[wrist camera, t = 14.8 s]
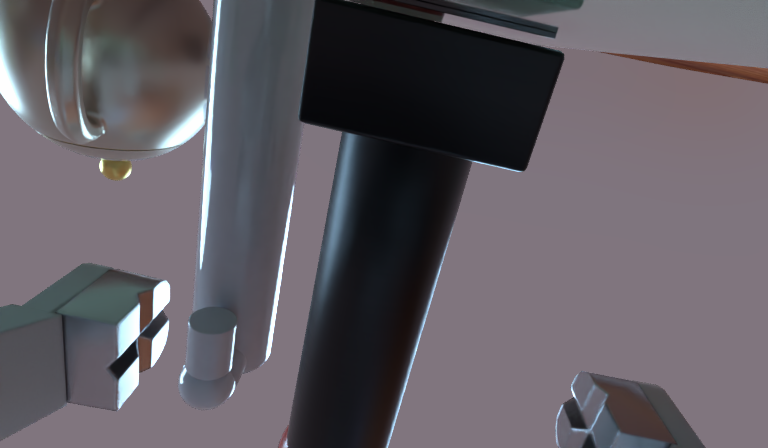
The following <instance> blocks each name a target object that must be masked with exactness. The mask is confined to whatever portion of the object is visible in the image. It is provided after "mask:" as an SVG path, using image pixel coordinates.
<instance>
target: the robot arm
mask: <svg viewBox="0 0 768 448" xmlns="http://www.w3.org/2000/svg"><path fill="white" fill-rule="evenodd" d="M169 301H170V285H169V284H168V282H167V281H166V280H161V279H157V278H153V277H149V276H145V275H141V274H136V273H132V272H128V271H124V270H120V269H114V268H111V267H107V266H102V265H97V264H92V263H86V264H81V265H80V266H78V267H77V268H76V269H74V270H73V271H71V272H70V273H69V274H67V275H66V276H64V277H63V278H61V279H60V280H58V281H57V282H55V283H54V284H53V285H51V286H50V287H48V288H47V289H45V290H44V291H42V292H41V293H40V294H38V295H37V296H35V297H34V298H32V299H31V300H30V301H28V302H27V303H25V304H24V305H22V306H19V305H14V304H11V305H8V306H3V307H0V441H1V440H3V439H5V438H6V437H9V436H11V435H12V434H14V433H16V432H18V431H20V430H22V429H23V428H25V427H27V426H29V425H31V424H33V423H35V422H37V421H38V420H40V419H42V418H44V417H46V416H47V415H50V414H51V413H53V412H55V411H57V410H58V409H61V408H63V407H64V406H66V405H67V403H73V404H78V405H84V406H90V407H95V408H101V409H107V410H112V411H118V409H119V408H120V407H121V406H122V404H123V403H124V402H125V401H126V399H127V398H128V397H129V396H130V394H131V393H132V392H133V390H134V389H135V388H136V386H137V385H138V373H140V372H143V371H145V370H147V369H149V368H151V367H152V366H153V365H154V363H155V362H156V361H157V359H158V358H159V356H160V354H161V352H162V349H163V347H164V345H165V343H166V338H167V334H168V326H169V319H168V318H167V316H166V315H165V313H164V312H163V310H162V309H163V308H164V307H165V305H166V304H167V303H168V302H169ZM571 389H572V392H573V395H574V397H573V398H572V399H570V400H569V401H567V402H565V403H563V404H562V406H561V409H560V411H559V414H558V416H557V422H556V430H555V432H556V441H557V444H558V448H705V446H704V445H703V444H702V442H701V440H700V439H699V438H698V436H697V435H696V433H695V432H694V431H693V429H692V428H691V426H690V425H689V424H688V422H687V421H686V419H685V418H684V417H683V415H682V414H681V412H680V411H679V410H678V408H677V407H676V405H675V404H674V403H673V401H672V400H671V398H670V397H669V395H668V394H667V393H666V391H665V390H664V389H662V388H661V387H659V386H658V385H654V384H649V383H643V382H638V381H629V380H624V379H619V378H614V377H609V376H604V375H599V374H594V373H589V372H584V371H581V372H580V373H579V374H578V375H577V376H576V377H575V379H574V381H573V383H572V385H571Z"/></svg>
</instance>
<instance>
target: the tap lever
mask: <svg viewBox="0 0 768 448" xmlns="http://www.w3.org/2000/svg"><path fill="white" fill-rule="evenodd" d="M563 61H564V54H563V53H562V52H561V51H558V50H554V49H550V48H545V47H541V46H537V45H533V44H528V43H524V42H520V41H516V40H511V39H507V38H503V37H499V36H494V35H490V34H486V33H482V32H477V31H473V30H469V29H465V28H460V27H456V26H452V25H447V24H443V23H439V22H435V21H431V20H426V19H422V18H418V17H413V16H409V15H405V14H401V13H396V12H392V11H388V10H384V9H379V8H375V7H371V6H367V5H362V4H358V3H354V2H350V1H345V0H314V7H313V14H312V21H311V28H310V35H309V42H308V49H307V56H306V63H305V70H304V77H303V84H302V91H301V98H300V105H299V112H298V118H299V121H301V122H302V123H306V124H310V125H315V126H319V127H324V128H328V129H333V130H337V131H341V132H342V136H341V142H340V147H339V152H338V158H337V163H336V169H335V175H334V180H333V186H332V191H331V197H330V203H329V208H328V213H327V218H326V224H325V229H324V235H323V241H322V246H321V252H320V257H319V262H318V268H317V274H316V279H315V285H314V290H313V296H312V301H311V306H310V312H309V318H308V323H307V329H306V334H305V340H304V345H303V351H302V356H301V362H300V367H299V373H298V378H297V384H296V389H295V395H294V400H293V406H292V411H291V417H290V422H289V425H288V426H287V428H286V429H285V431H284V433H283V435H282V438H281V440H280V442H279V446H278V448H388V445H389V441H390V438H391V435H392V431H393V428H394V425H395V421H396V418H397V414H398V411H399V408H400V404H401V401H402V398H403V394H404V391H405V387H406V384H407V381H408V377H409V374H410V371H411V367H412V363H413V360H414V357H415V354H416V350H417V347H418V343H419V340H420V336H421V333H422V329H423V326H424V323H425V320H426V316H427V313H428V310H429V306H430V303H431V299H432V296H433V293H434V289H435V286H436V283H437V279H438V276H439V273H440V269H441V266H442V262H443V259H444V255H445V252H446V249H447V246H448V242H449V239H450V235H451V232H452V229H453V225H454V222H455V218H456V215H457V212H458V208H459V205H460V202H461V198H462V195H463V191H464V188H465V185H466V181H467V178H468V175H469V171H470V168H471V164H472V161H474V162H479V163H483V164H487V165H492V166H496V167H501V168H505V169H509V170H514V171H518V172H522V171H525V170H526V168H527V166H528V163H529V160H530V157H531V154H532V151H533V148H534V146H535V143H536V140H537V137H538V134H539V131H540V128H541V125H542V122H543V119H544V116H545V113H546V111H547V108H548V105H549V102H550V99H551V96H552V93H553V90H554V87H555V84H556V82H557V78H558V75H559V73H560V70H561V67H562V64H563Z"/></svg>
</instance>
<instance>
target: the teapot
mask: <svg viewBox="0 0 768 448" xmlns="http://www.w3.org/2000/svg"><path fill="white" fill-rule="evenodd" d="M211 33H212V21H211V19H210V17H209V15H208V13H207V12H206V10H205V8H204V7H203V5H202V3H201V2H200V1H199V0H0V92H1V94H2V96H3V97H4V99H5V100H6V101H7V103H8V104H9V105H10V107H11V108H12V109H13V110H14V111H15V112H16V114H17V115H18V116H19V117H20V118H21V119H23V120H24V121H25V122H26V123H27V124H28V125H29V126H30V127H32V128H33V129H34V130H35V131H37V132H38V133H40V134H41V135H42V136H44V137H45V138H47V139H48V140H50V141H52V142H54V143H55V144H57V145H59V146H61V147H64V148H66V149H68V150H70V151H73V152H75V153H78V154H81V155H85V156H89V157H93V158H97V159H101V161H100V170H101V172H102V174H103V175H104V176H105V177H107V178H108V179H111V180H115V181H116V180H117V181H118V180H123V179H125V178H126V177H128V176H129V174H130V173H131V170H132V164H131V162H130V161H135V160H143V159H148V158H152V157H156V156H159V155H162V154H165V153H167V152H170V151H172V150H174V149H175V148H177V147H179V146H180V145H182V144H184V143H185V142H187V141H188V140H189V139H191V138H192V137H193V136H194V135H195V134H196V133H197V132H198V131H199V130H200V129H201V128H202V127H203V126H204V124H205V120H206V106H207V91H208V76H209V62H210V47H211Z"/></svg>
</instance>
